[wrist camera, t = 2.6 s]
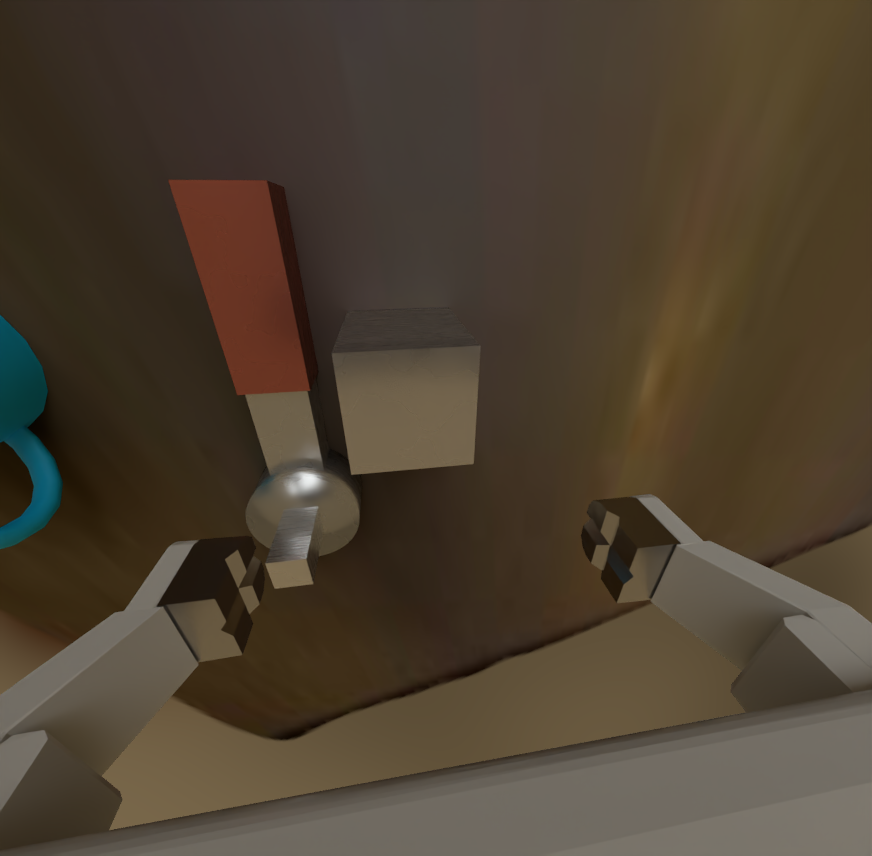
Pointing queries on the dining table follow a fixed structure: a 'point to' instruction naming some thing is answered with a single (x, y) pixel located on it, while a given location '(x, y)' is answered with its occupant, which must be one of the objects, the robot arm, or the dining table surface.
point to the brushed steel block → (407, 389)
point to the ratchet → (271, 369)
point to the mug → (26, 432)
